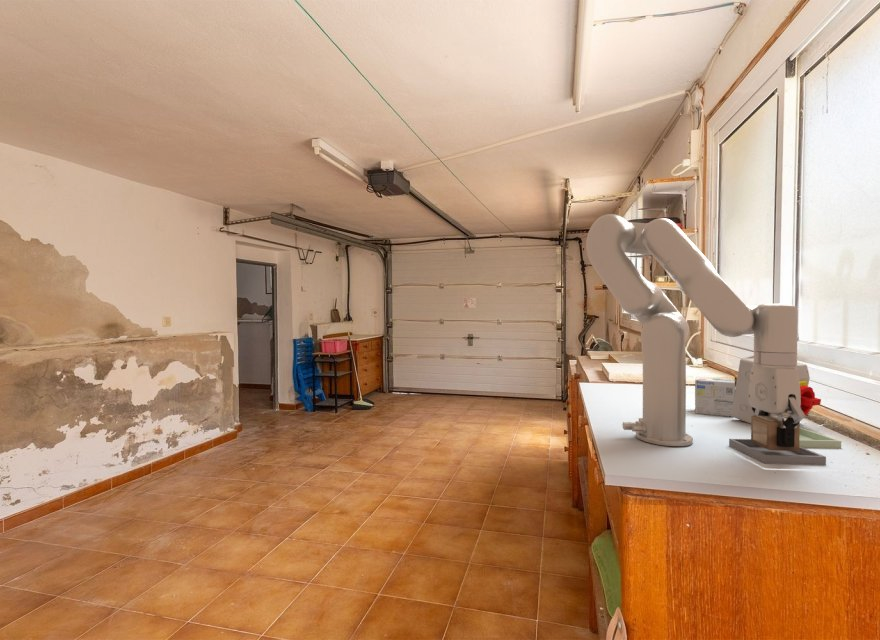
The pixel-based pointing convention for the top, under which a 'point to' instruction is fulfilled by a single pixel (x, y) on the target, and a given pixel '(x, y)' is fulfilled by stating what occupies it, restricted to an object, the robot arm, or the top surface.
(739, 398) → the electrical switch box
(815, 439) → the green tray
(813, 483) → the top surface
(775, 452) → the grey tray
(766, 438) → the letter block
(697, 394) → the light bulb box
